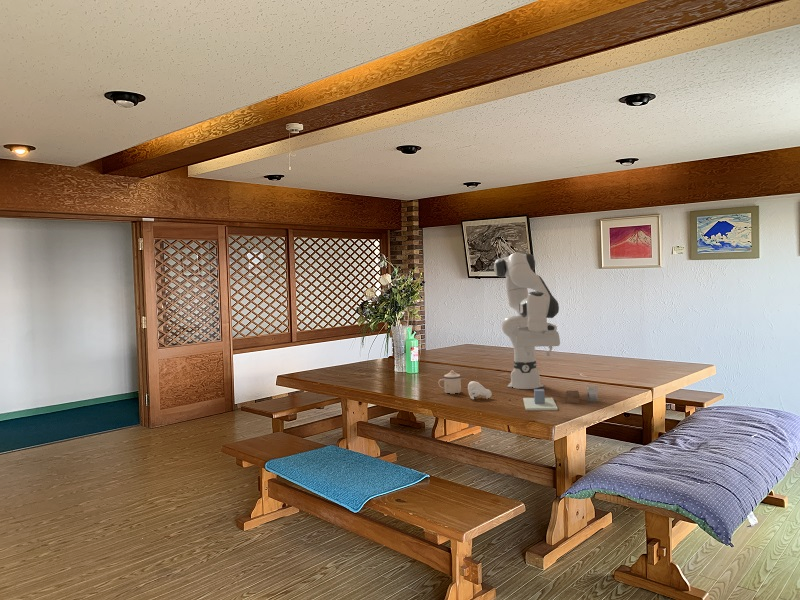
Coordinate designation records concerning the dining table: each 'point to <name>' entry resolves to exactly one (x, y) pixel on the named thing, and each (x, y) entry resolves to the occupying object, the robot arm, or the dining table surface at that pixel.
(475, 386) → the white figurine
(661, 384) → the dining table surface
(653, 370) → the dining table surface
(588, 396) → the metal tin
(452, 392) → the teacup with lid
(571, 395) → the walnut block
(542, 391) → the slate blue block
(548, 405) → the sage board
